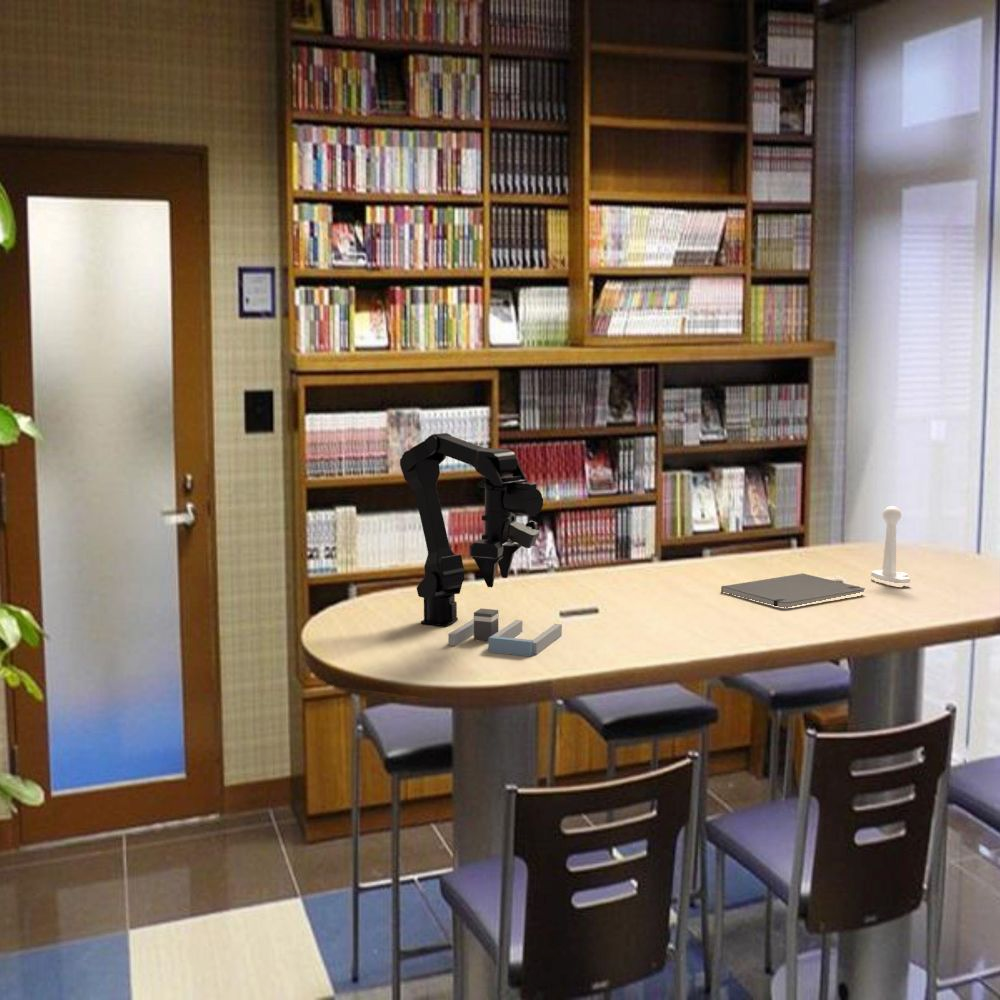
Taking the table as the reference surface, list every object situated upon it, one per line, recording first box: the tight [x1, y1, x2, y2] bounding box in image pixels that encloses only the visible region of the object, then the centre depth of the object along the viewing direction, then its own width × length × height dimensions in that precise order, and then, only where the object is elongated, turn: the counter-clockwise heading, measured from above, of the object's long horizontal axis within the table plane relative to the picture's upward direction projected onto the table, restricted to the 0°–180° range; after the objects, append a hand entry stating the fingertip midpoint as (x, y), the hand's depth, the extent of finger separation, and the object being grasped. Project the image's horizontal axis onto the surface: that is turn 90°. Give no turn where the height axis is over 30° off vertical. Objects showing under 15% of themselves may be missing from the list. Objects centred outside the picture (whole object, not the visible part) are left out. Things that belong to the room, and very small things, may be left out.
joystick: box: [870, 505, 912, 583], centre depth 311 cm, size 11×8×20 cm
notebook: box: [720, 573, 866, 608], centre depth 300 cm, size 22×2×28 cm
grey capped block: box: [473, 608, 500, 642], centre depth 259 cm, size 4×4×6 cm
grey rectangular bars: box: [447, 618, 563, 657], centre depth 257 cm, size 20×18×3 cm
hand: (497, 582), depth 259 cm, fingers open, 9 cm apart
